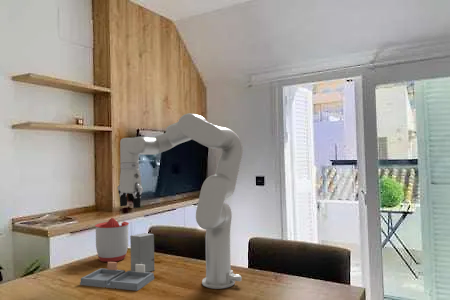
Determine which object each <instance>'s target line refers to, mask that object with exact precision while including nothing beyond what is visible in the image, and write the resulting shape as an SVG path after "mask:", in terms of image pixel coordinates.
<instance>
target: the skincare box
mask: <svg viewBox="0 0 450 300" xmlns="http://www.w3.org/2000/svg"><path fill="white" fill-rule="evenodd" d="M135 264H144V265H145V272H150V273H151V272H153V271H155V235H154V233H147V232H146V233H144V232H143V233H137V234H133V235H130V271H135Z"/></svg>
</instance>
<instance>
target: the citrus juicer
mask: <svg viewBox="0 0 450 300" xmlns="http://www.w3.org/2000/svg"><path fill="white" fill-rule="evenodd" d="M129 224H130V223H129V222H128V221H122V222H121V224H119V222H118V221H117V220H116V219H115V218H113V217H111V218H110V219H108V221H106V222H100V223H97V224H95V225H94V227H95V247H96V253H97V257H98V260H99V261H101V262H103V263H104V262H105V263H108V262H117V263H118V262H119V261H122V260H124V259H125V258H126V256H127V252H128V248H129Z"/></svg>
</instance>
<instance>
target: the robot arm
mask: <svg viewBox="0 0 450 300" xmlns="http://www.w3.org/2000/svg"><path fill="white" fill-rule="evenodd" d="M191 140H192V141H195V142H197V143H198V144H200V145H202V146H205V147H207V148H208V149H213V150H221V154H220V156H219V158H218V161H217V166H216V170H215V173H214V174H211V175H210V176H208V177H207V178H205V180H204V181H203V183H202V185H201V189H200V192H199V196H198V202H197V206H196V209H195V221H196V223H197V226H199V228H201V229H202V230H206V231H205V277H203V278H202V280H201V284H202V286H203V287H206V288H207V289H215V290H217V289H218V290H219V289H221V290H222V289H227V288H230V287H233V286H234V285H235V283H236V282H242V276H241V275H240V274H237V273H236V274H235V273H234V270H233V269H231V261H232V260H231V226H232V215H233V213H232V209H231V207H230V204H228V203H227V202H226V201H225V200H226V199H228V198H229V197H231V196H232V195H233V194H234V192H235V189H236V184H237V180H238V175H239V171H240V166H241V162H242V158H243V157H242V156H243V151H244V150H243V142H242V140H241V138H240V137H239V135H238V134H237V133H236V132H235V131H233V130H232V129H230V128H228V127H224V126H218V125H215V124H213V123H211V122H209V121H208V120H207V119H206V118H205V117H203V116H202V115H199V114H196V113H191V112H190V113H185V114H182V115H181V117H180V118H179V119H178V121H177V122H174V123H172V124H170V125H168V126H167V127H166V131H165V132H164V133H162V134H159V135H157V136H154V137H152V136H135V137H124V138H121V139H120V143H119V146H120V147H119V151H120V152H119V153H120V156H119V157H120V162H119V163H120V172H119V173H120V174H119V185H118V186H117V190H118V192H117V193H118V194H119V195H118V197H119V206H120V207H126V206H128V196H127V194H130V195H131V194H132V196H133V199H132V208H133V209H139V208H141V198H142V195H143V190H144V188H143V186H142V177H141V171H140V169H139V167H140V166H139V165H140V164H139V163H140V162H139V155H142V156H143V155H147V156H148V155H151V156H152V155H157V154H161V153H163V152H167V151H169V150H171V149H172V148H174V147H176V146H178V145H180V144H182V143H185V142H189V141H191Z"/></svg>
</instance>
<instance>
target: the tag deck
mask: <svg viewBox="0 0 450 300" xmlns="http://www.w3.org/2000/svg"><path fill="white" fill-rule="evenodd" d="M154 274H155V273H154V272H151V271H150V272H145V265H144V264H135V271H131V270H127V271H126V270H124V269H118V261H117V262H107V268H99V269H96V270H94V271H92V272H91V273H89V274H86V275H85V276H82V277H81V278H80V282H79V285H80V286H88V287H99V288H105V287H106V288H109V289H115V288H116V289H117V290H127V291H139V290H141V289H142V288H144V287H145V286H146V285H148V284H149V283H151V282H152V281H154V280H155V276H154Z"/></svg>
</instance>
